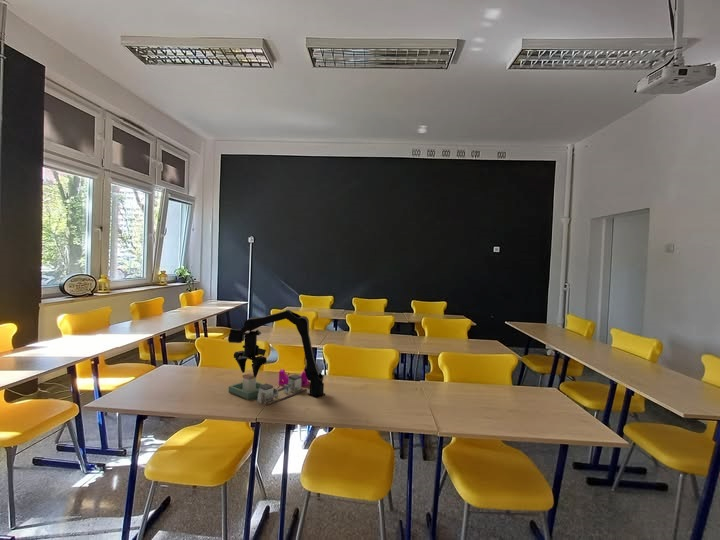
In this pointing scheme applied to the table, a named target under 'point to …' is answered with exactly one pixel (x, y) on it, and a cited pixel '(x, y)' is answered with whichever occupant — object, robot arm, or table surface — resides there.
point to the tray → (238, 390)
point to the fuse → (249, 382)
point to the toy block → (286, 379)
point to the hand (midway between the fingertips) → (249, 374)
